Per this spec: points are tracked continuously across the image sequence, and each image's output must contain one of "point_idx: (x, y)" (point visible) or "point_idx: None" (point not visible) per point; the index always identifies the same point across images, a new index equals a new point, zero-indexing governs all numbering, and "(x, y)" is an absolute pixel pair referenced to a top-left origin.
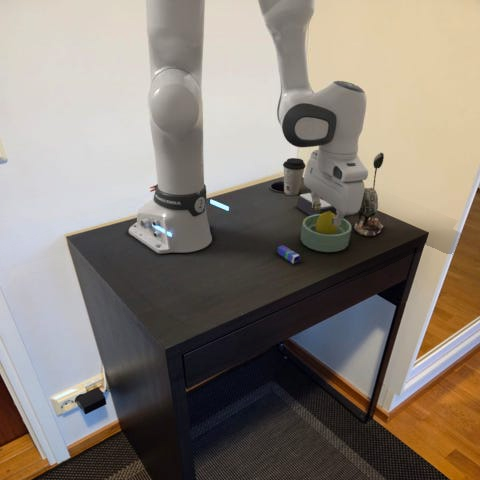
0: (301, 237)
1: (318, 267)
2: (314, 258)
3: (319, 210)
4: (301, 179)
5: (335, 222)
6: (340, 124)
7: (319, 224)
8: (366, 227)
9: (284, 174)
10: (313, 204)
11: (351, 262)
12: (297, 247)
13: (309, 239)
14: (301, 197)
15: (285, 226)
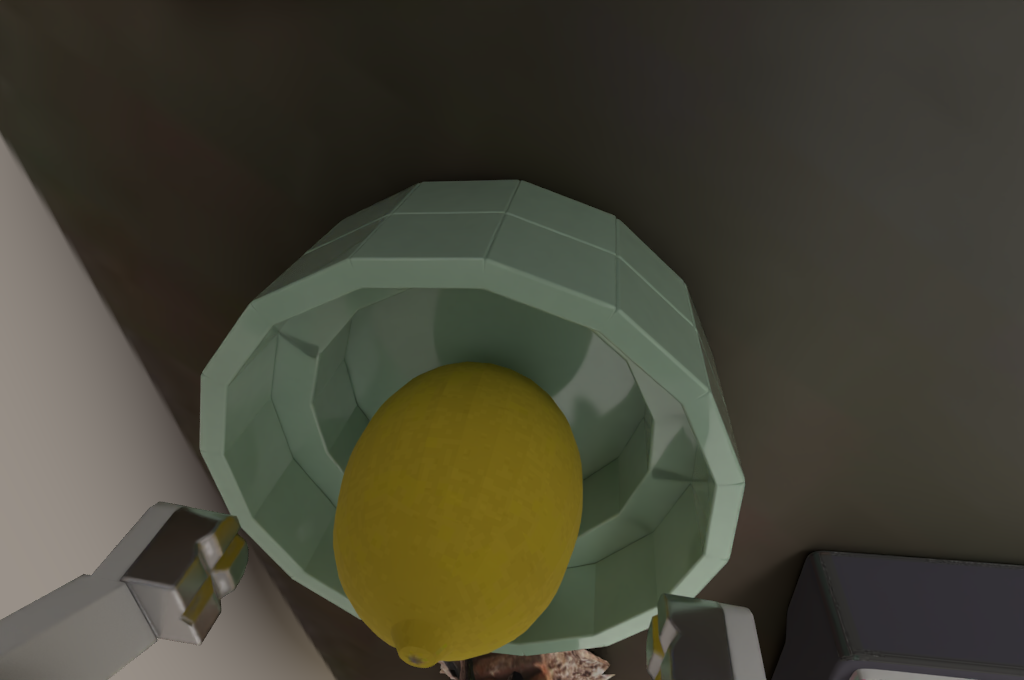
0: (593, 219)
1: (90, 50)
2: (256, 122)
3: (863, 637)
4: None
5: (124, 539)
6: None
7: (435, 437)
8: (500, 664)
9: None
10: (723, 666)
11: (157, 346)
12: (513, 93)
13: (400, 214)
14: None
15: (997, 264)
